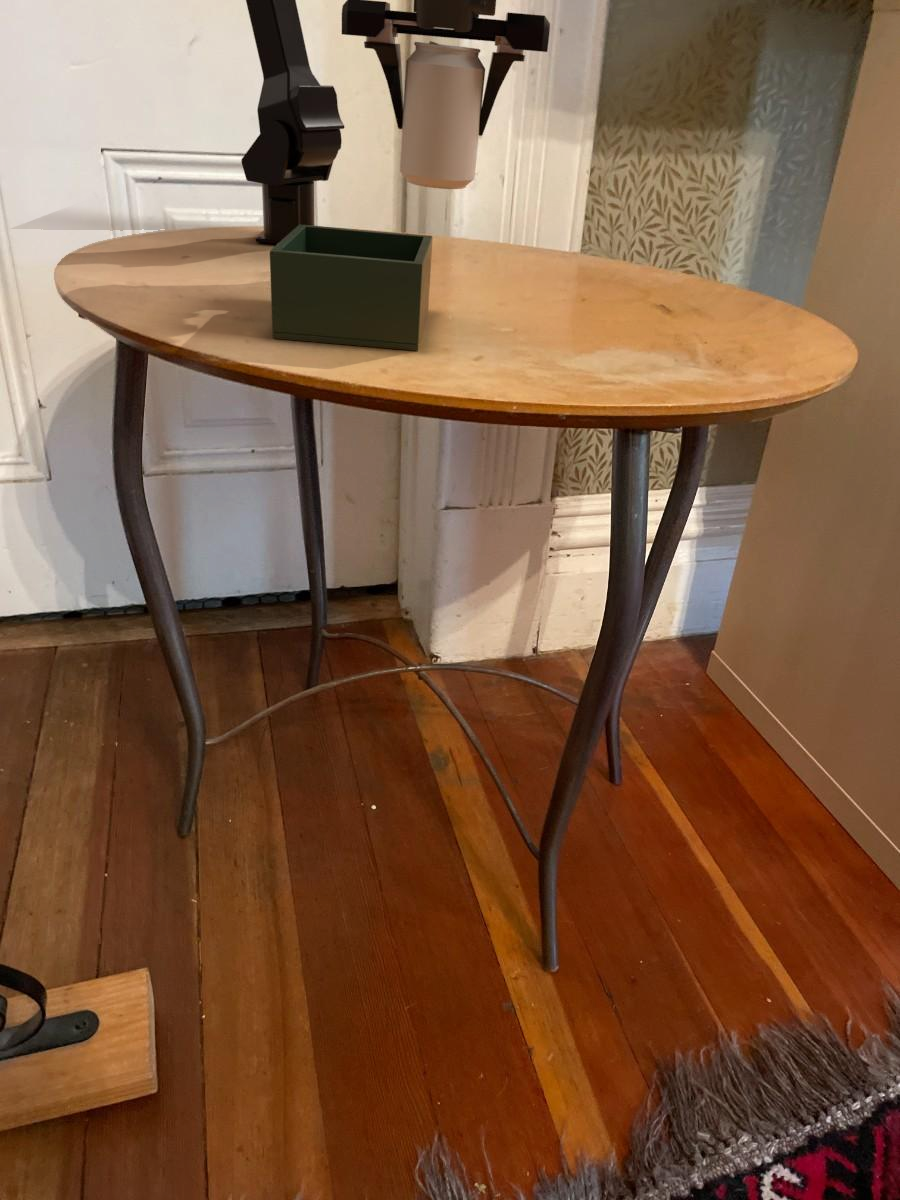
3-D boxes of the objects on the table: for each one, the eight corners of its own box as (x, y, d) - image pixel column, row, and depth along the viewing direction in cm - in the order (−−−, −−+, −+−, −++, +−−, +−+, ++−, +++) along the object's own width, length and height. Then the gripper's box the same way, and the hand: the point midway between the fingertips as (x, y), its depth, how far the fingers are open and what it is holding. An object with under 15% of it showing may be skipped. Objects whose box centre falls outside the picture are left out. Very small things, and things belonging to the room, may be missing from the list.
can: (467, 193, 85) (481, 47, 79) (391, 183, 86) (399, 37, 80) (479, 184, 92) (493, 48, 85) (408, 175, 92) (416, 39, 86)
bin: (300, 302, 79) (299, 224, 75) (428, 313, 79) (432, 235, 75) (272, 338, 69) (269, 250, 66) (417, 351, 69) (422, 264, 66)
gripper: (333, -89, 71) (333, 131, 79) (565, -68, 71) (540, 148, 80) (350, -74, 80) (348, 121, 89) (555, -56, 81) (534, 137, 89)
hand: (440, 132), depth 86 cm, fingers closed on can, 7 cm apart
